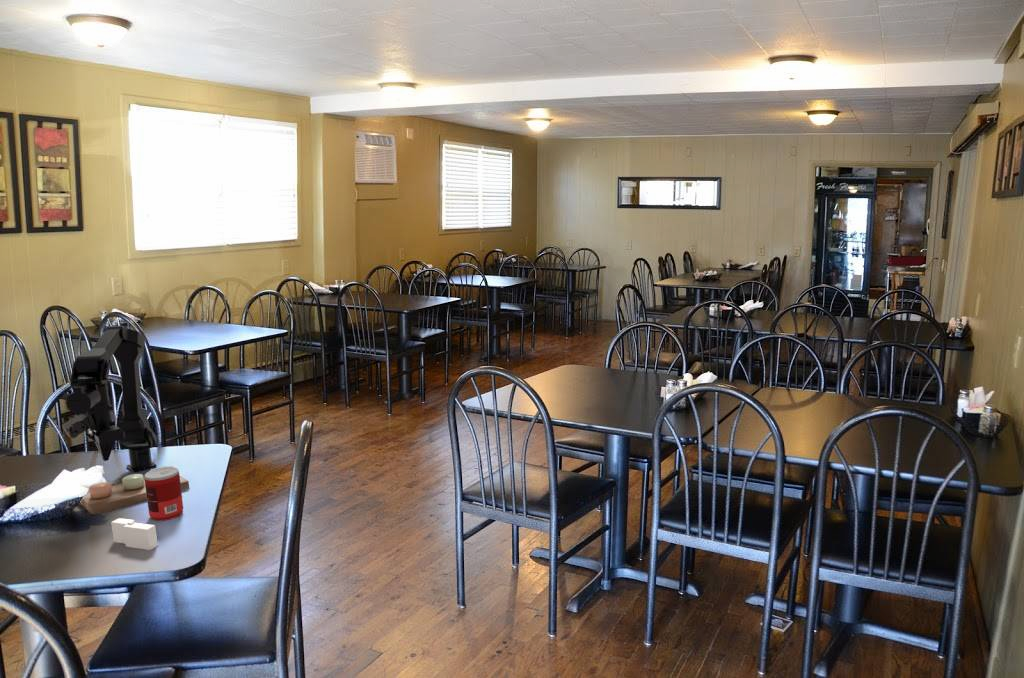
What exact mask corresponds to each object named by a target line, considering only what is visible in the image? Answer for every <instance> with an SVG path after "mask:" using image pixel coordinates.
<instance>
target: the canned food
mask: <svg viewBox="0 0 1024 678" xmlns="http://www.w3.org/2000/svg"><path fill="white" fill-rule="evenodd" d="M162 467H163V468H159V467H157V468H158V469H157V468H155V469H151V470H150V471H147V472H146V473H145V474H143V478H144V479H145V487H146V495H147V500H146V501H147V508H148V515H149V518H150V520H153V521H157V522H160V521H161V522H162V521H168V520H172V519H175V518H177V517H180V515H181V514H182V513H183V511H184V504H183V503H184V502H183V494H182V490H181V484H180V476H181V475H180V471H179V468H178V467H174V466H172V467H164V466H162ZM179 475H180V476H179Z"/></svg>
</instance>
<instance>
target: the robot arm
mask: <svg viewBox="0 0 1024 678" xmlns="http://www.w3.org/2000/svg"><path fill="white" fill-rule="evenodd" d="M145 346H146V338H145V336H144V335H143V333H141V332H140V331H138V330H135V329H131V328H129V327H127V326H126V325H125V326H124V325H108V326H105V327H104V329H103V333H102V335H101V336H100V337H99V338H98V340H97V341H96V343H94V345H93V346H92V348H90V349H89V350H86V351H84V352H81V353H80V354H79V355H78V356H77V357H76V358H75V359H74V362H73V364H72V369H71V375H70V384H69V385H70V387H72V393H70V395H68V397H67V399H66V403H65V404H66V407H67V409H68V411H70V412H71V413H72V414H75V415H77V416H75V417H73V418H71V419H69V420H68V421H66V422H64V423H63V424H62V425H61V427H62V429H63V431H64V432H65V434H66V435H67V436H68V437H69V438H70V439H75V438H77V437H78V436H79V435H82V434H83V433H84V432H86V431H88V433H87V434H86V436H85V437H87V438H88V439H90V440H91V441H92V442H94V443H95V445H96V447H97V450H98V452H99V454H100V456H101V459H102V461H104V462H107V461H109V459H110V456H111V453H112V451H113V448H114V445H115V443H116V442H118V445H119V447H120V450H122V451H124V450H128V456H129V464H126V468H127V469H129V470H130V471H132V472H134V473H135V472H138V471H143V470H147V469H151V468H156V467H157V464H156V463H155V462H153V461H152V453H151V451H152V450H151V449H152V448H153V447H156V446H157V435H156V433H155V432H154V431H153V428H151V426H150V421H149V419H148V418H147V416H145V414H144V413H143V410H142V409H143V406H142V393H141V380H140V379H141V378H140V367H139V362H140V361H141V358H142V357H143V356H144V354H145V353H144V352H145ZM112 356H113V357H114V358H115V359H116V361H117V362H118V363H119V367H120V368H119V369H120V379H121V380H120V381H121V392H122V405H123V406H122V407H123V416H122V418H121V419H120V421H118V423H117V425H116V421H115V420H113V416H112V415H113V414H112V411H113V410H114V407H113V405H112V404H111V403H110V397H109V388H108V381H109V375H110V371H111V367H112V366H111V363H110V359H111V358H112Z"/></svg>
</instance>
